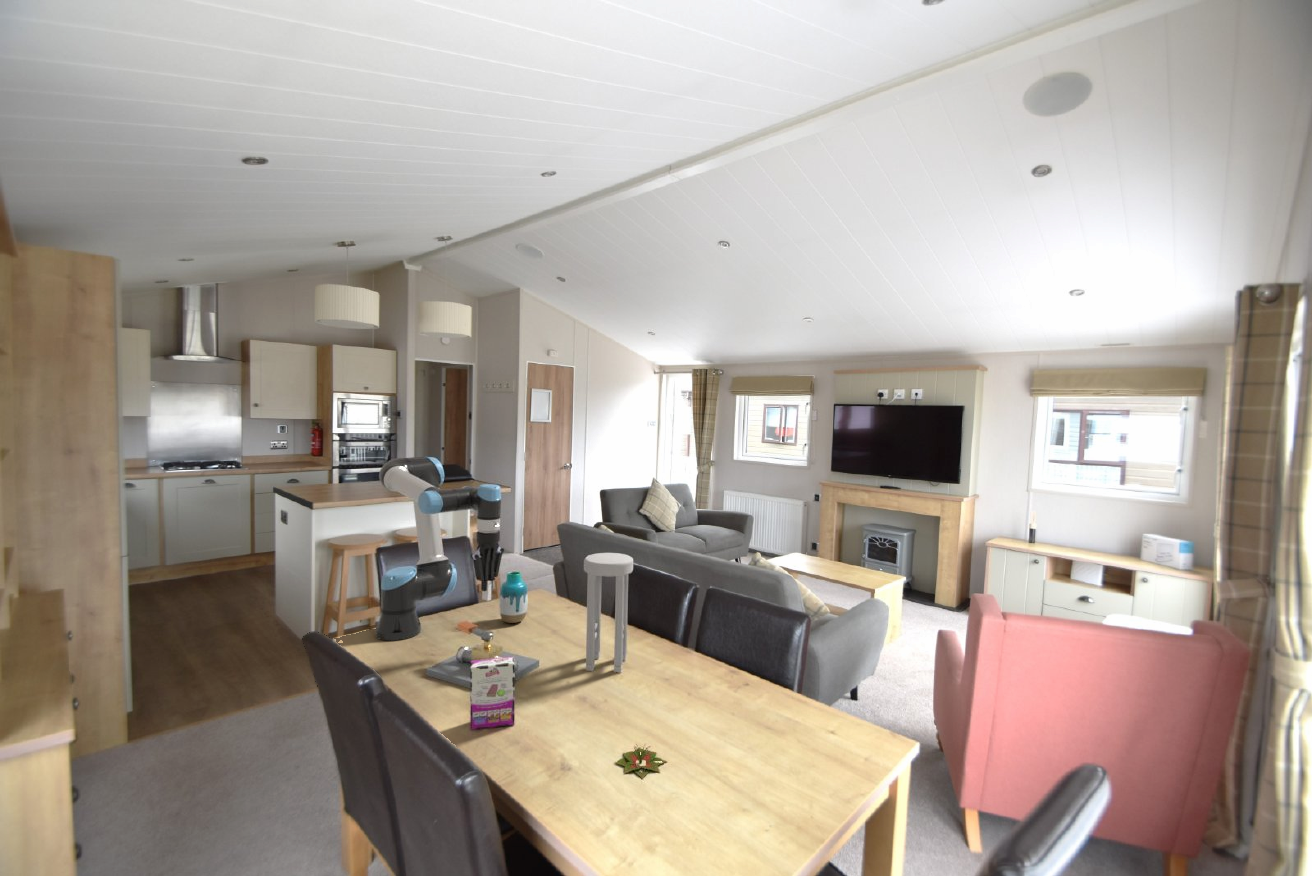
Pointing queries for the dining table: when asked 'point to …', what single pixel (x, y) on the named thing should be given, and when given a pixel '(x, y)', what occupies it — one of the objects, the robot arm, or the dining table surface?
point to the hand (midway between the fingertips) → (486, 599)
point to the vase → (513, 598)
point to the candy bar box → (492, 693)
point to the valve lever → (475, 630)
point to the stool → (596, 568)
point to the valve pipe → (481, 653)
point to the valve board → (461, 671)
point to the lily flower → (640, 761)
